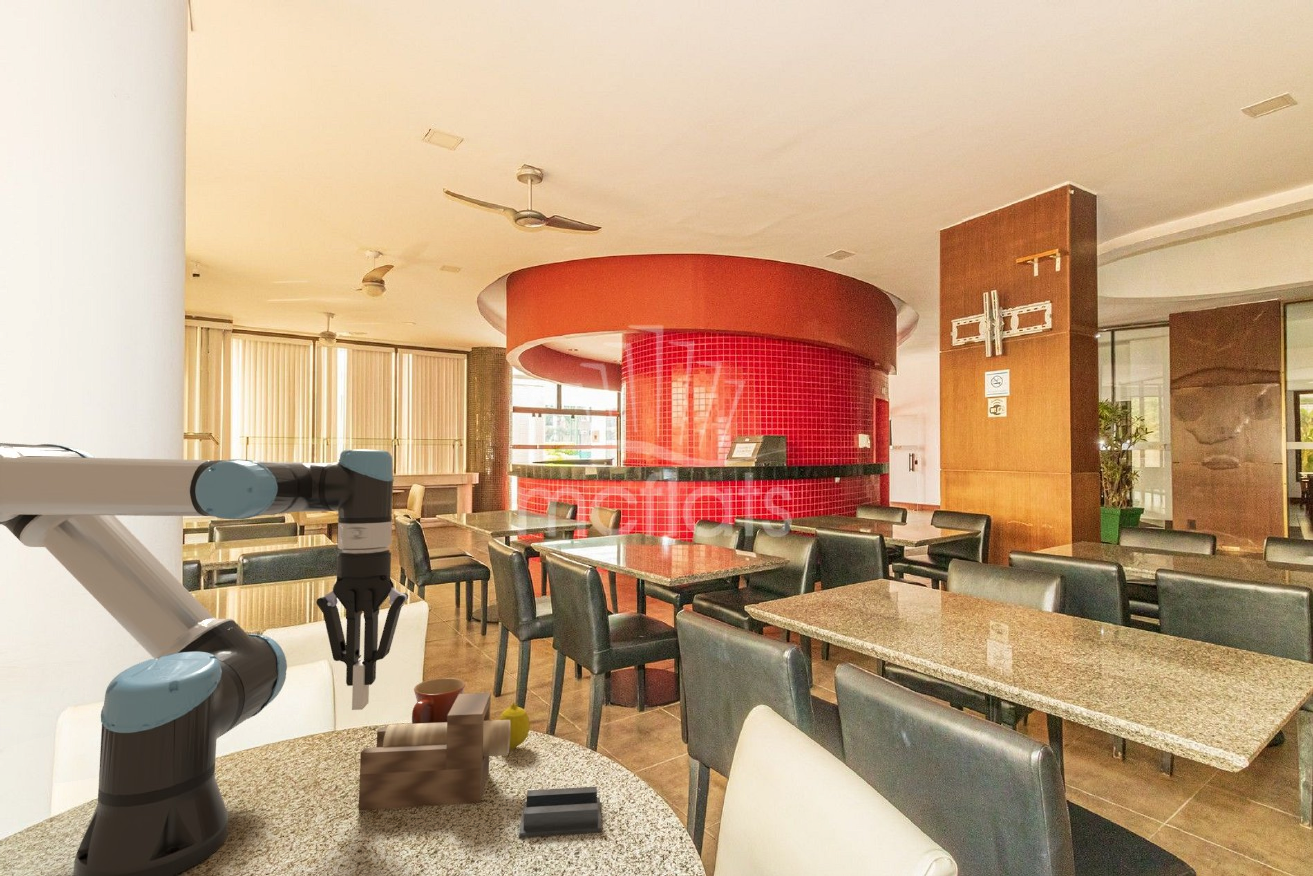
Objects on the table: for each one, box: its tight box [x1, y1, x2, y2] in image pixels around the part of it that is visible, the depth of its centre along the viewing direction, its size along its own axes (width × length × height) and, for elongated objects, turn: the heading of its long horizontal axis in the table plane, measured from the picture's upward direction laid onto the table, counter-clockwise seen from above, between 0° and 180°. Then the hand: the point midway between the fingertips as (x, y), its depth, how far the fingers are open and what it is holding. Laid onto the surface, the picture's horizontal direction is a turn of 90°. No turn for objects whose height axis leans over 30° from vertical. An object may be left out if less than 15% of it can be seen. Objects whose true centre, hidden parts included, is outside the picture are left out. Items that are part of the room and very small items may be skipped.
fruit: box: [498, 702, 531, 751], centre depth 108 cm, size 6×6×8 cm
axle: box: [383, 719, 511, 757], centre depth 94 cm, size 18×5×5 cm, turn 97°
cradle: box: [518, 786, 603, 839], centre depth 86 cm, size 11×8×3 cm
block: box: [358, 692, 492, 811], centre depth 94 cm, size 17×9×13 cm, turn 97°
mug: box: [411, 677, 466, 724], centre depth 108 cm, size 12×9×10 cm
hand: (360, 706), depth 93 cm, fingers closed
